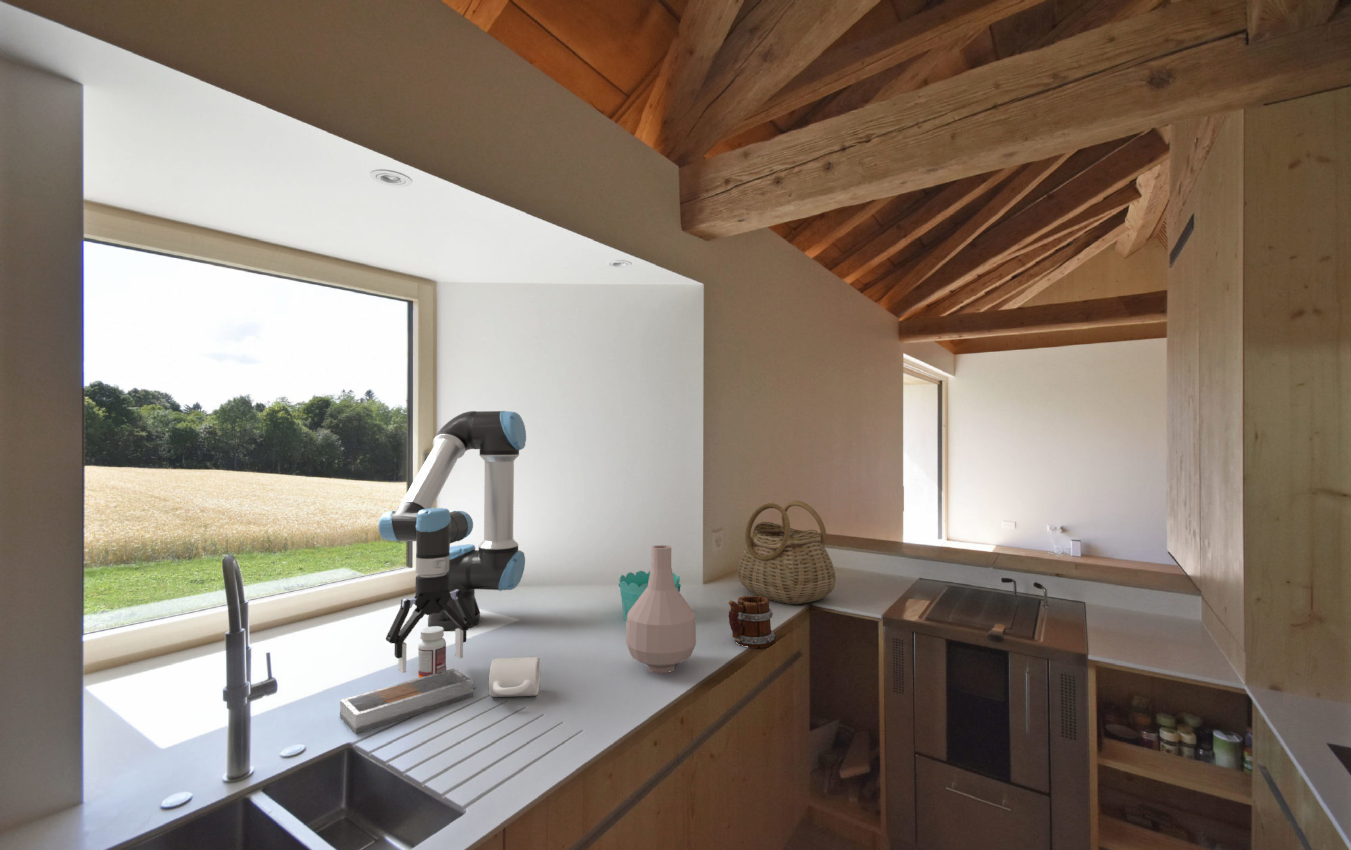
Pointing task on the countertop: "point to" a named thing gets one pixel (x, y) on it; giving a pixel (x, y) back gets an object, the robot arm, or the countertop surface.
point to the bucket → (636, 588)
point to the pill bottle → (431, 651)
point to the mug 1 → (514, 677)
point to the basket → (786, 559)
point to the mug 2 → (751, 621)
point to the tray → (404, 700)
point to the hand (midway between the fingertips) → (431, 663)
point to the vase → (661, 619)
